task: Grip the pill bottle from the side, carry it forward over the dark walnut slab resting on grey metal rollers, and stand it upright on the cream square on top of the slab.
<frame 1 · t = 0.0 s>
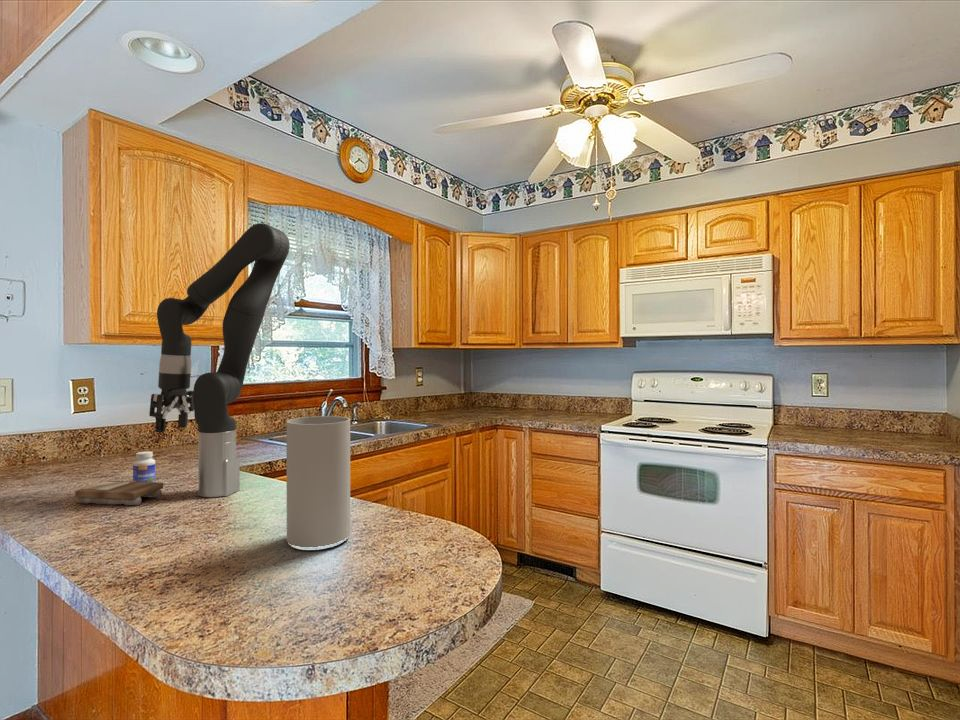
hand: (171, 429, 139), 17 cm above the worktop, tool pointing down, fingers open, 8 cm apart
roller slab: (120, 500, 131), on the worktop
cylinder vase: (319, 541, 104), on the worktop
pill bottle: (144, 487, 145), on the worktop
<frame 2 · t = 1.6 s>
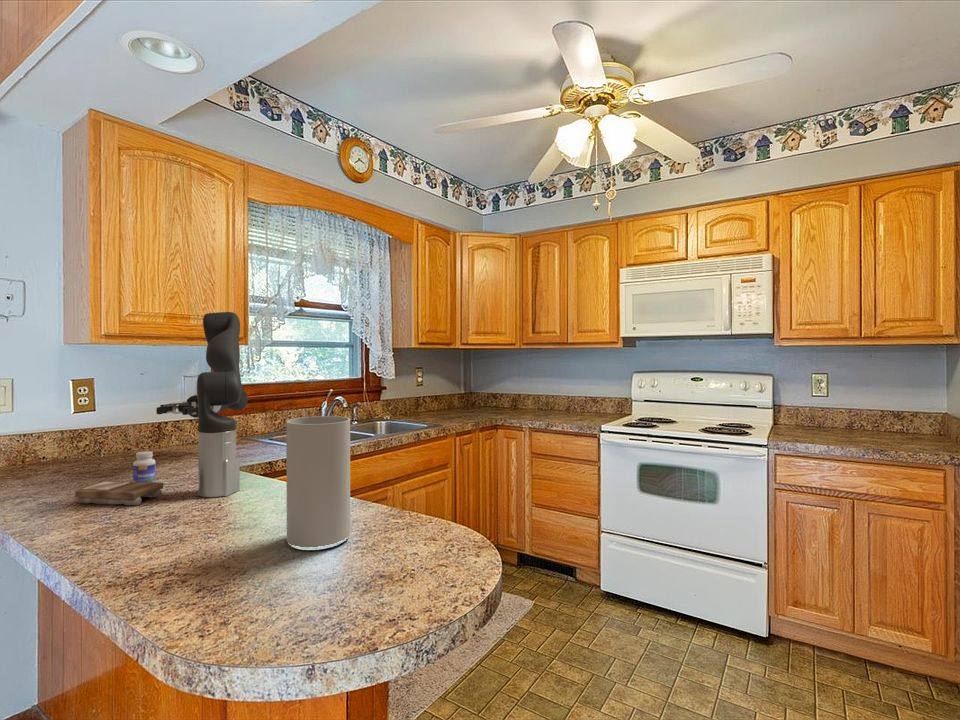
hand: (170, 411, 155), 20 cm above the worktop, tool horizontal, fingers open, 8 cm apart
nothing on the worktop moved.
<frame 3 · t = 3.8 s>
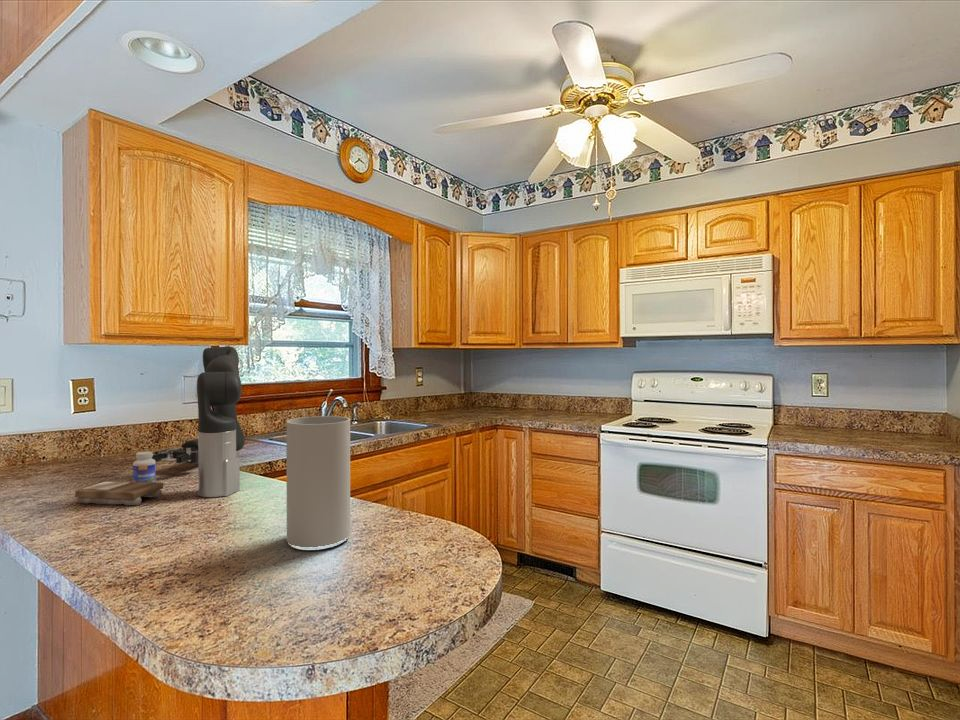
hand: (164, 459, 152), 6 cm above the worktop, tool horizontal, fingers open, 8 cm apart
nothing on the worktop moved.
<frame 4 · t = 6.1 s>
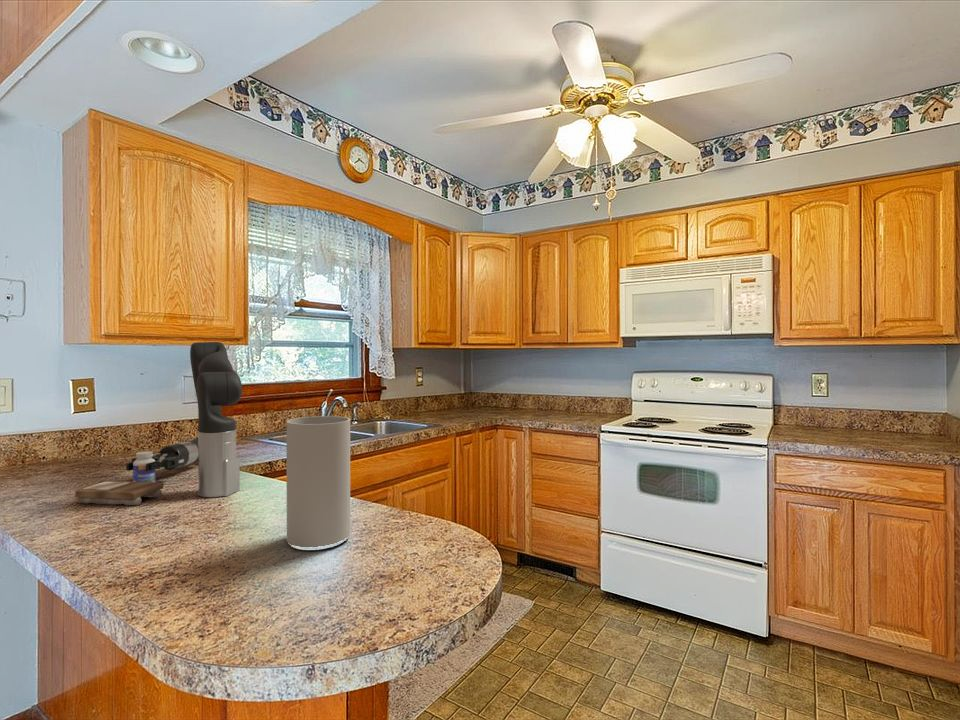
hand: (137, 467, 142), 6 cm above the worktop, tool horizontal, fingers closed on pill bottle, 5 cm apart
pill bottle: (144, 486, 145), on the worktop, touching gripper
everything else where it was.
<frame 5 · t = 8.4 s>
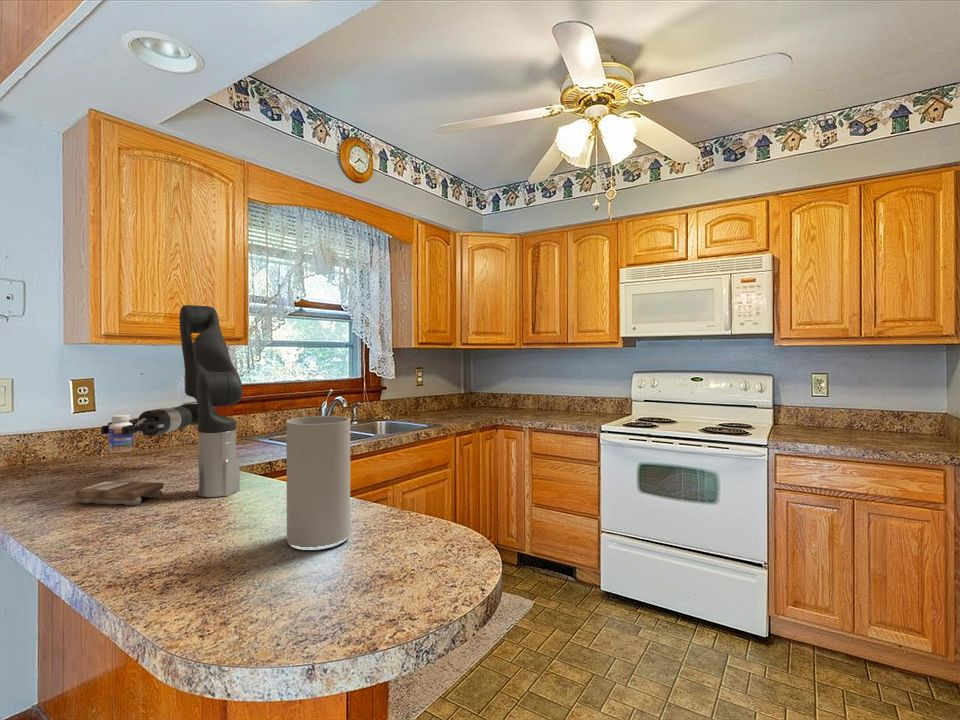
hand: (113, 430, 134), 18 cm above the worktop, tool horizontal, fingers closed on pill bottle, 5 cm apart
pill bottle: (121, 451, 136), point 12 cm above the worktop, touching gripper
everything else where it was.
when the fingers open (11 cm above the worktop, at t = 10.9 s): pill bottle drops 1 cm, resting on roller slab.
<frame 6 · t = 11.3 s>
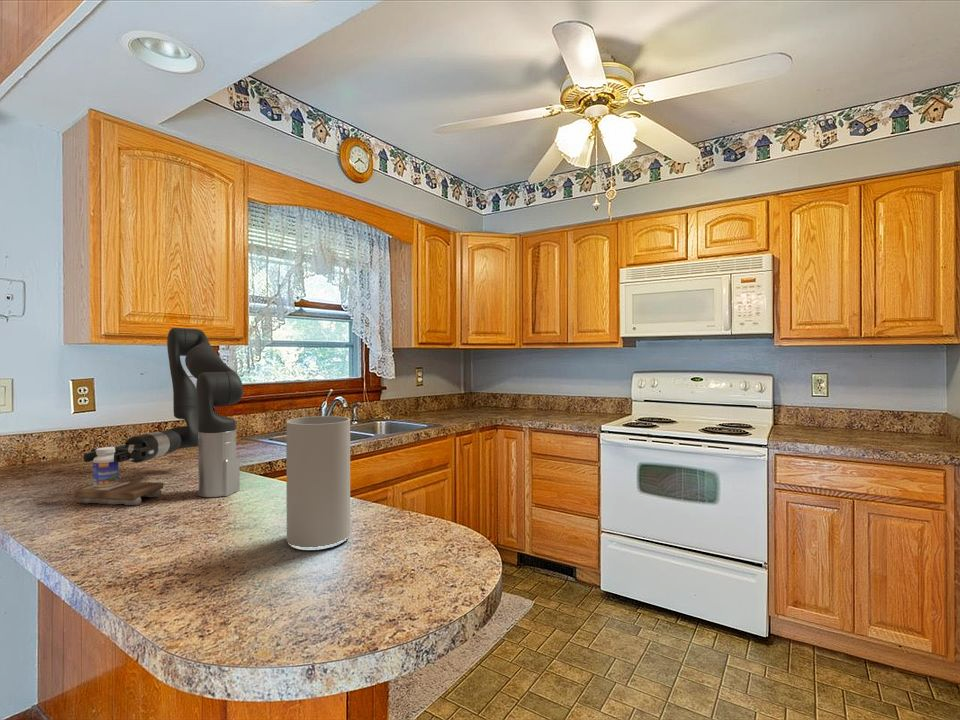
hand: (99, 458, 130), 11 cm above the worktop, tool horizontal, fingers open, 8 cm apart
pill bottle: (106, 485, 132), point 4 cm above the worktop, touching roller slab
everything else where it was.
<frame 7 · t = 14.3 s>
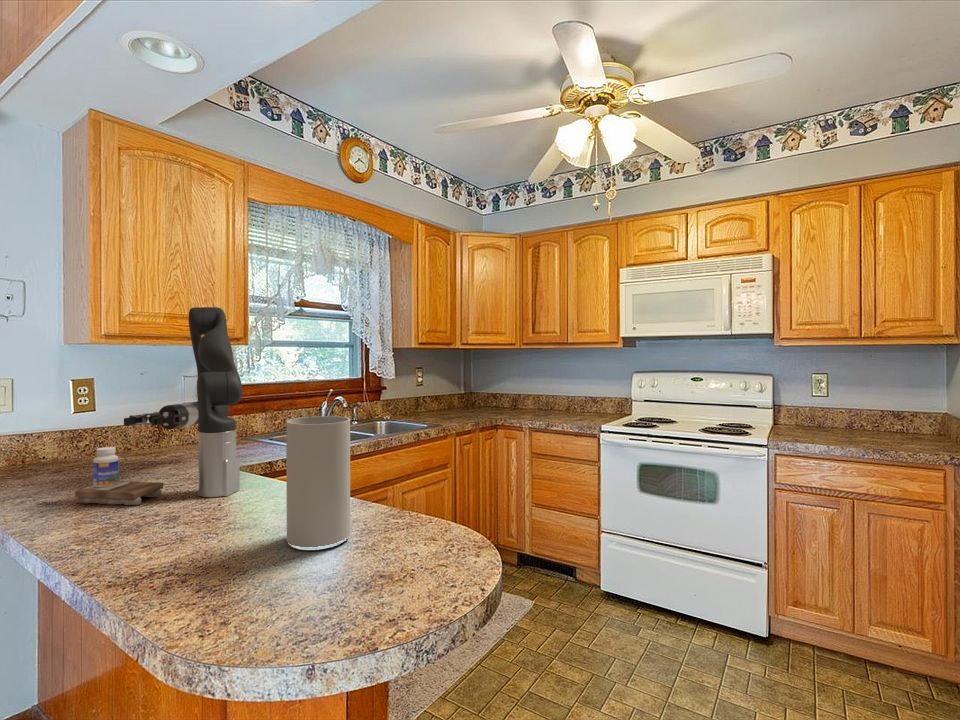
hand: (138, 422, 142), 19 cm above the worktop, tool horizontal, fingers open, 8 cm apart
nothing on the worktop moved.
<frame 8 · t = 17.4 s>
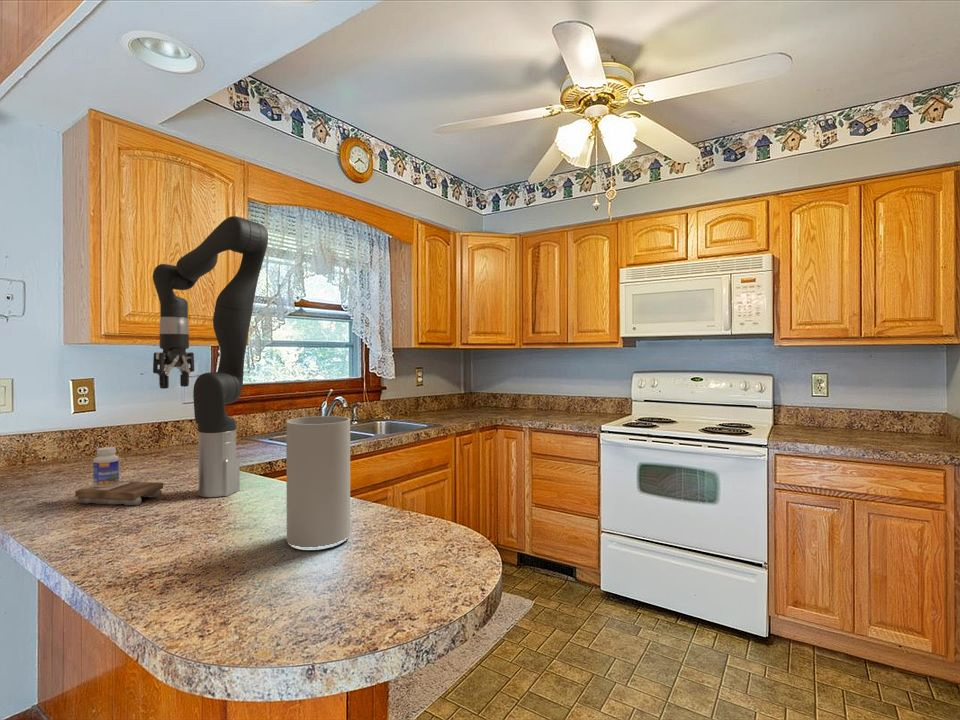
hand: (174, 387, 150), 28 cm above the worktop, tool pointing down, fingers open, 8 cm apart
nothing on the worktop moved.
at the end: pill bottle 0.3 cm from the target spot on the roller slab, point 3.5 cm above the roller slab's base; pill bottle tilted 0°; the gripper is holding nothing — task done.
